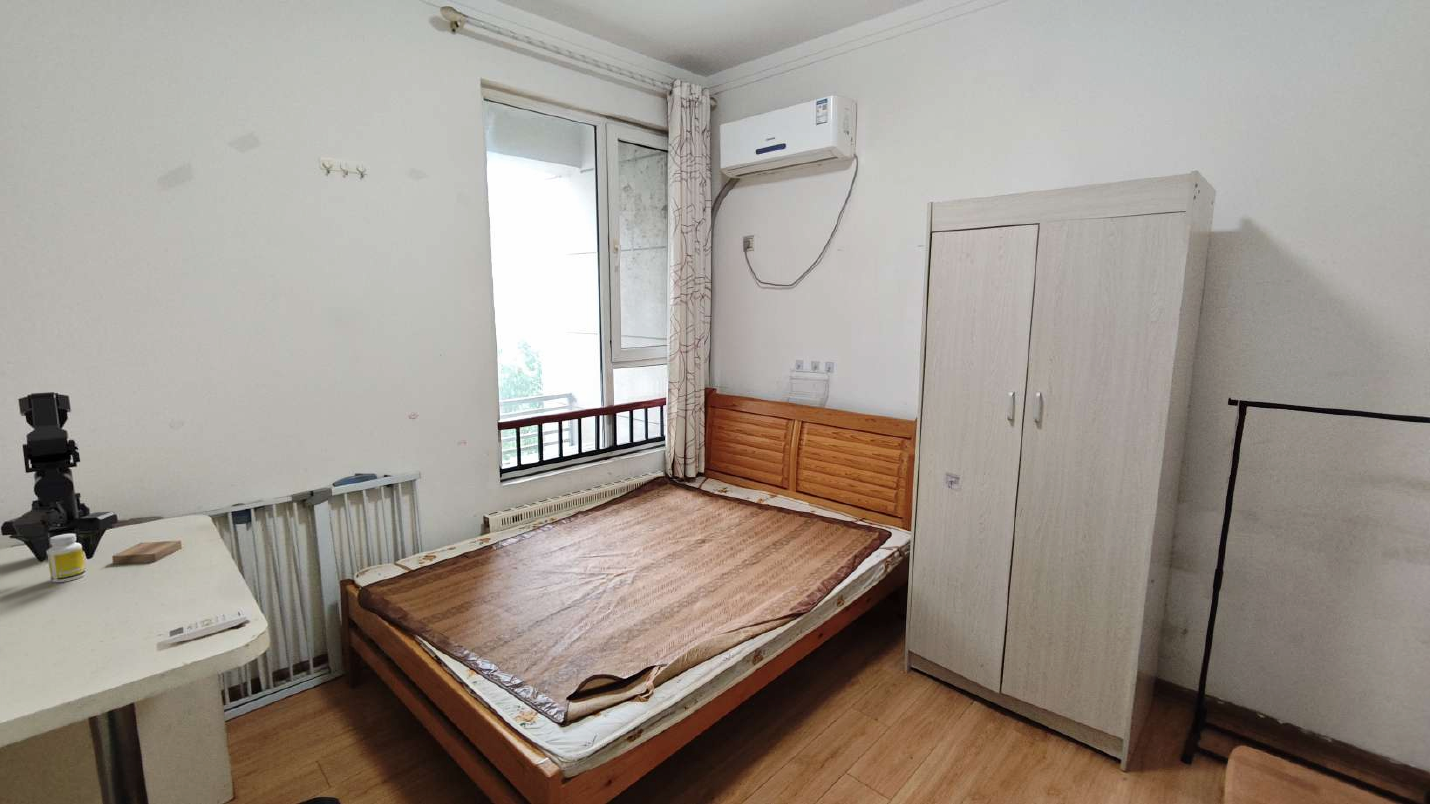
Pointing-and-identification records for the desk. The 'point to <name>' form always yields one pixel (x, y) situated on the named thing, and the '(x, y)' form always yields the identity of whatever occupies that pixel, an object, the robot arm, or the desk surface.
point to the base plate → (147, 552)
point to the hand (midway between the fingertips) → (66, 560)
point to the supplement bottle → (65, 558)
